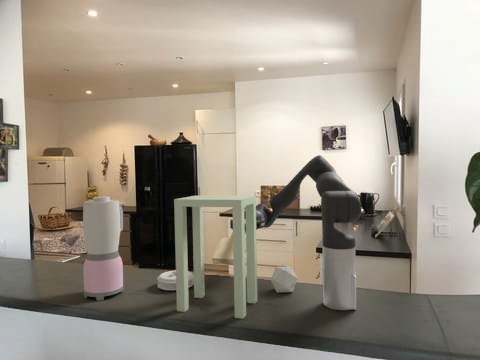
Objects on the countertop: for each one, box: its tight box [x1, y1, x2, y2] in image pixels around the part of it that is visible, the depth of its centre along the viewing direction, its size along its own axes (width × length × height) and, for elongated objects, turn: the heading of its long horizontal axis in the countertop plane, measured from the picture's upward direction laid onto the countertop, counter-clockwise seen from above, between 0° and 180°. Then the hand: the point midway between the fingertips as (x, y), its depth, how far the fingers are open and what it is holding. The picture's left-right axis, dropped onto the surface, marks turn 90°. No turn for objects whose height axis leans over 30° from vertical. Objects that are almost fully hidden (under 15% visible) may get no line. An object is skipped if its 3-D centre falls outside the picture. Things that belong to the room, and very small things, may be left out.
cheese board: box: [211, 219, 246, 266], centre depth 124 cm, size 10×20×2 cm
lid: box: [156, 269, 194, 291], centre depth 127 cm, size 13×13×5 cm
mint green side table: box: [173, 195, 258, 319], centre depth 108 cm, size 20×14×32 cm
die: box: [270, 266, 298, 294], centre depth 120 cm, size 8×9×10 cm
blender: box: [82, 196, 124, 301], centre depth 122 cm, size 16×12×32 cm
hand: (238, 227), depth 127 cm, fingers closed on cheese board, 3 cm apart
